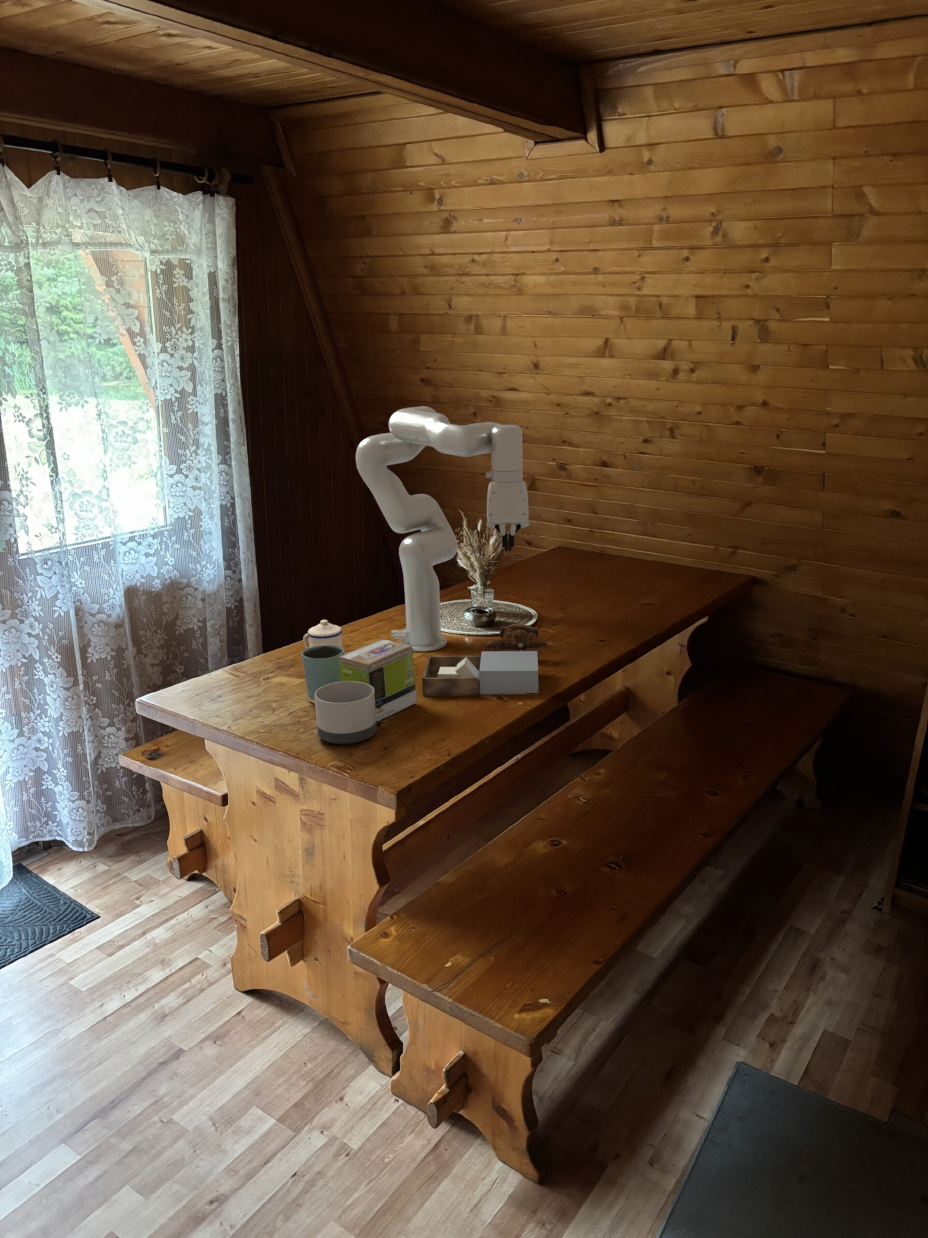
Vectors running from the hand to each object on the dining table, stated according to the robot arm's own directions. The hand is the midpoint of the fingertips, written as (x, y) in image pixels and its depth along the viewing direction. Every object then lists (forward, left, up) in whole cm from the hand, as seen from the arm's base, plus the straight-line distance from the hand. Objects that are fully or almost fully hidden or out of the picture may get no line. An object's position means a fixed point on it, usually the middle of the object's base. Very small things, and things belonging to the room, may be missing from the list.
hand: (508, 549), depth 239 cm
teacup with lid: (-50, +5, -31) cm, 59 cm away
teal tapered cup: (-44, -21, -31) cm, 58 cm away
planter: (-35, -43, -31) cm, 64 cm away
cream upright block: (-9, -13, -27) cm, 31 cm away
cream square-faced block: (-15, -12, -28) cm, 33 cm away
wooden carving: (+2, +4, -31) cm, 32 cm away
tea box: (-30, -28, -31) cm, 52 cm away
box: (-14, -12, -31) cm, 36 cm away
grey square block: (0, -12, -31) cm, 33 cm away
